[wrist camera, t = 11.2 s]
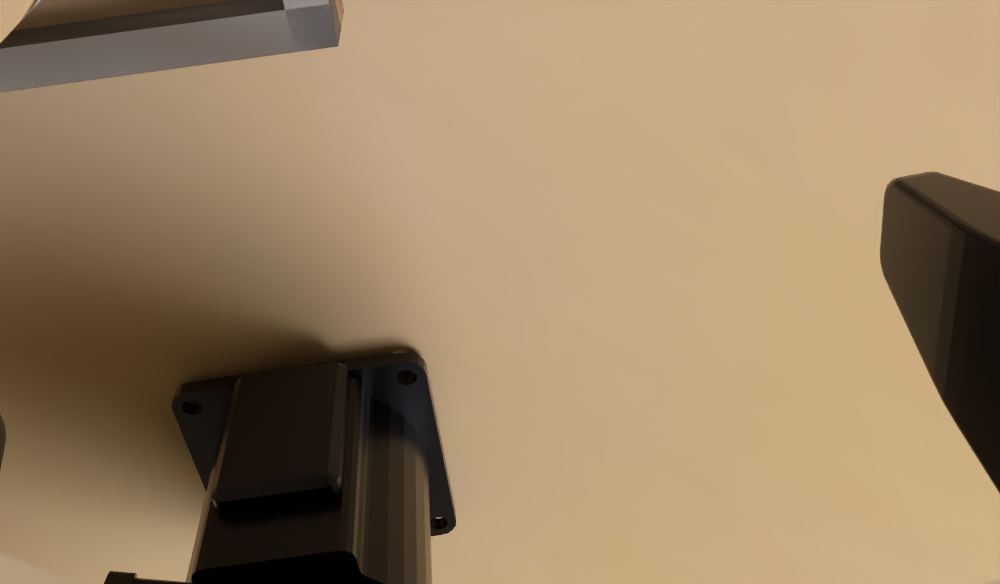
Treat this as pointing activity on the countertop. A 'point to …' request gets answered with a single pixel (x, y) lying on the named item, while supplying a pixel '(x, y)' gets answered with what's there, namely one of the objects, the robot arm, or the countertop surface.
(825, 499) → the countertop surface
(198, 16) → the lane
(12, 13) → the slate jar
